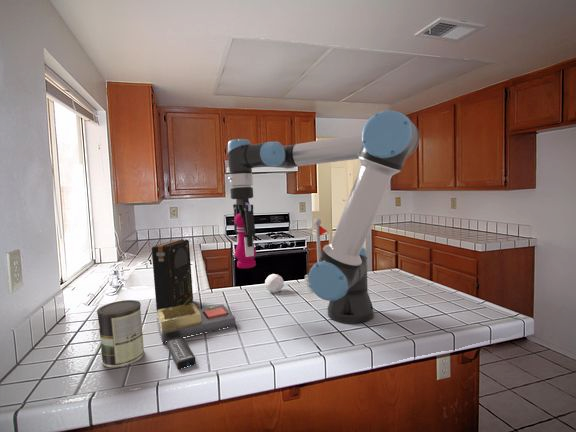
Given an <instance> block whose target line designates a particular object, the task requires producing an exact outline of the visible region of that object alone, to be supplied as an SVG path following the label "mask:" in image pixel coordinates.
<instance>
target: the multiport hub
mask: <svg viewBox="0 0 576 432" xmlns="http://www.w3.org/2000/svg"><path fill="white" fill-rule="evenodd" d="M166 344H167V349H169V350H168V352H169V351H170V352H169V354H170V356H171V358H172V360H173V362H175V363H174V364H176V365H175V367H176V366H177V367H176V369H177V370H178V369H181V368H184V367H187V366H190V365H194V364H197V363H196V356H195V355H194V353H193V351H192V350H191V348H190V346H189V345H188V343H187V341H186V338H185V339H184V338H183V337H180V338H176V339H172V340H168V341H167V343H166ZM194 366H195V365H194ZM187 368H188V367H187ZM184 369H185V368H184ZM181 370H182V369H181Z"/></svg>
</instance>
